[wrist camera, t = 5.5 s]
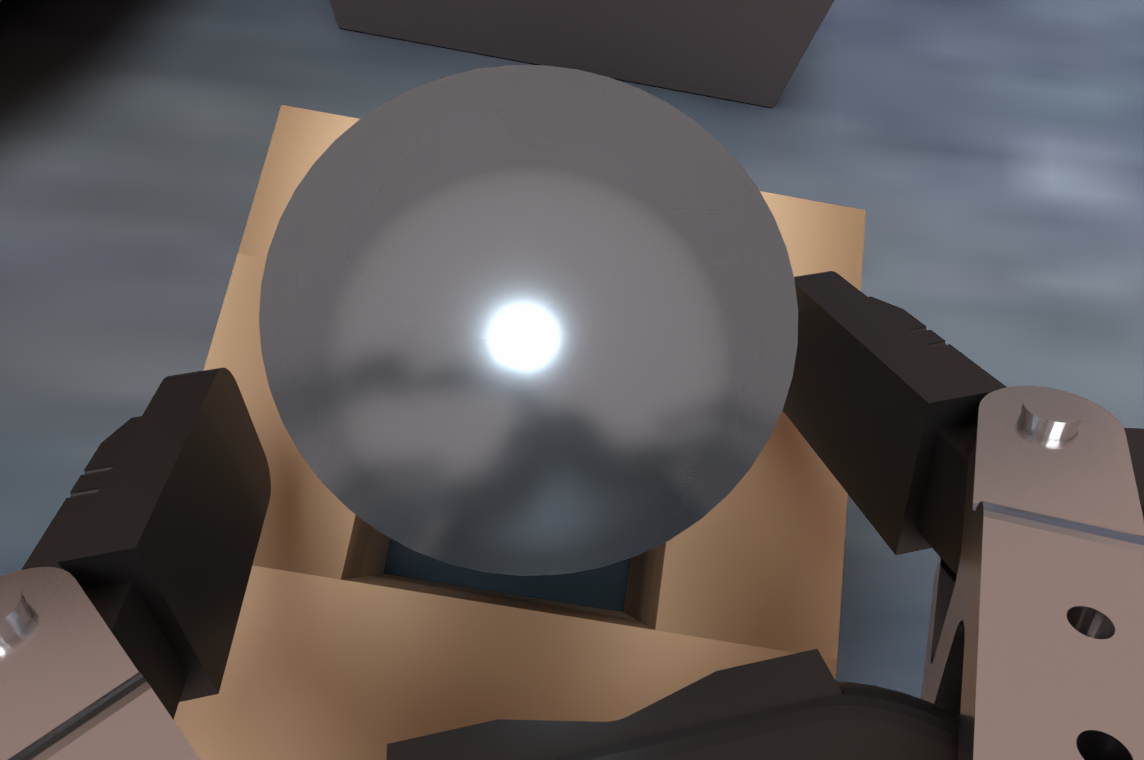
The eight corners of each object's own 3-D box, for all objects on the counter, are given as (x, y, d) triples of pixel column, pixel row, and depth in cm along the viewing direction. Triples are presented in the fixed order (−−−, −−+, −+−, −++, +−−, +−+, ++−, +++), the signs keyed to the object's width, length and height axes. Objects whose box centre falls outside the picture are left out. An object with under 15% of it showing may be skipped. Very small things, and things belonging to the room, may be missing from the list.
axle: (423, 545, 16) (191, 524, 5) (458, 377, 17) (332, 23, 6) (595, 573, 17) (774, 618, 5) (619, 405, 18) (817, 114, 6)
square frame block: (198, 705, 15) (89, 756, 11) (332, 200, 18) (281, 105, 14) (748, 789, 16) (823, 867, 12) (793, 281, 19) (865, 210, 15)
